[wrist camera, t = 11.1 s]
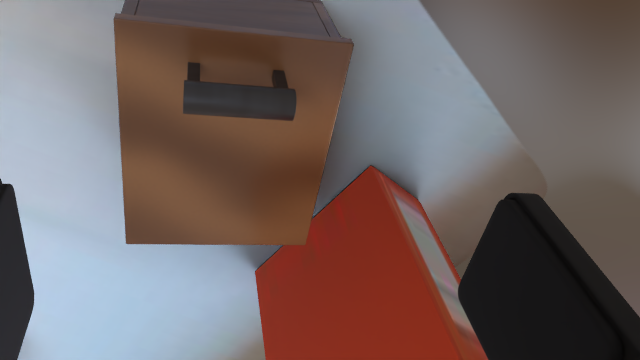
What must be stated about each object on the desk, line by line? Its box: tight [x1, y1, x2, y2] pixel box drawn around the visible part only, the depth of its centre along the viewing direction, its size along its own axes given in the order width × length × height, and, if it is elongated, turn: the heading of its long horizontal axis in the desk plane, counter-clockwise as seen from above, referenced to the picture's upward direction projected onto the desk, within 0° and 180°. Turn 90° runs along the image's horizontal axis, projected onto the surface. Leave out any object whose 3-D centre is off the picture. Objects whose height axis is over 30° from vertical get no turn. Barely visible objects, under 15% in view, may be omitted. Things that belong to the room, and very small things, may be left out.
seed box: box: [121, 0, 341, 38], centre depth 40 cm, size 17×14×9 cm
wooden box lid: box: [114, 13, 354, 245], centre depth 34 cm, size 17×14×5 cm
